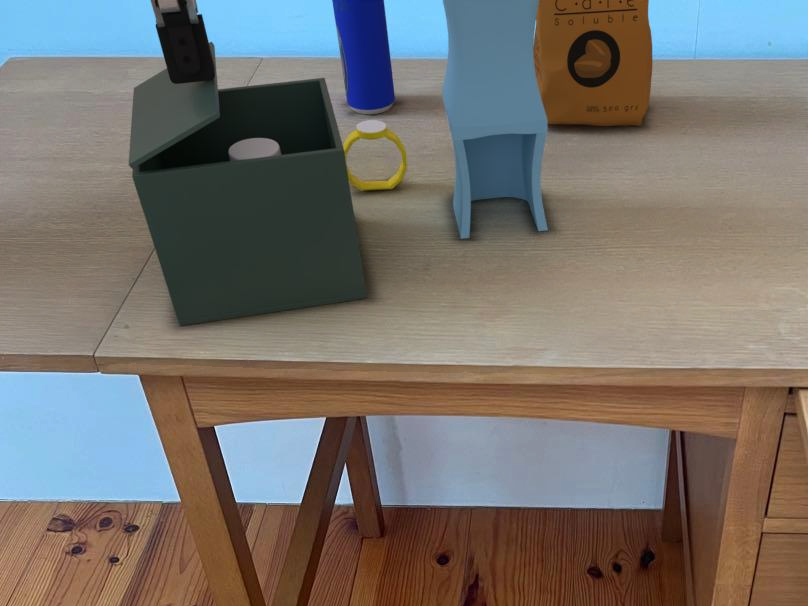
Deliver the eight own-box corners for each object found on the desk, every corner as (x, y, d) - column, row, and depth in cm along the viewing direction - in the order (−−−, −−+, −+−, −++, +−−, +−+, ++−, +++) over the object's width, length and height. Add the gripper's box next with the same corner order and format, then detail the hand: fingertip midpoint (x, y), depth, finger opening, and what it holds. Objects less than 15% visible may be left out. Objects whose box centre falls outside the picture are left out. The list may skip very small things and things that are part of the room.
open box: (179, 326, 80) (131, 175, 71) (178, 240, 89) (136, 98, 80) (367, 298, 82) (344, 150, 73) (347, 217, 92) (324, 77, 83)
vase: (533, 189, 95) (529, -46, 81) (548, 230, 90) (546, -14, 75) (450, 197, 94) (431, -40, 80) (460, 238, 89) (442, -7, 75)
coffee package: (649, 136, 103) (666, -113, 87) (528, 136, 103) (523, -113, 88) (647, 97, 110) (661, -141, 94) (533, 96, 110) (529, -141, 95)
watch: (347, 197, 95) (337, 135, 90) (345, 184, 96) (335, 122, 92) (410, 191, 95) (403, 129, 91) (407, 178, 97) (400, 116, 93)
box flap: (132, 169, 71) (128, 164, 70) (136, 92, 80) (133, 87, 80) (220, 117, 70) (216, 112, 70) (214, 45, 79) (211, 41, 79)
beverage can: (357, 94, 111) (335, -58, 100) (401, 98, 110) (385, -55, 100) (341, 114, 108) (317, -42, 97) (387, 117, 107) (368, -39, 96)
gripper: (59, -249, 65) (143, 47, 79) (37, -206, 55) (138, 125, 68) (177, -256, 67) (241, 37, 80) (178, -215, 56) (250, 112, 70)
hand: (193, 77), depth 74 cm, fingers closed
